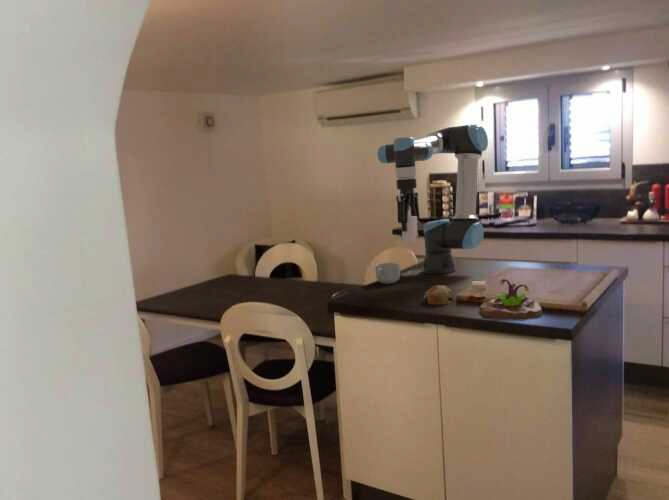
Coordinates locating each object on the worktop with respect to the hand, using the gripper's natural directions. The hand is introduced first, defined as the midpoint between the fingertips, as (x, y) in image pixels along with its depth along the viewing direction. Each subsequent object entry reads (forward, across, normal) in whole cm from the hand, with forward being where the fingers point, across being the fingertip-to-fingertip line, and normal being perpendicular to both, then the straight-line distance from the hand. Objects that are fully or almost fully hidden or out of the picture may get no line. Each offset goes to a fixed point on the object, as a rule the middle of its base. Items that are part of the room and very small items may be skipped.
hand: (410, 238), depth 233 cm
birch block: (+22, -2, +26) cm, 34 cm away
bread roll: (+22, +10, +15) cm, 29 cm away
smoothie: (+2, 0, 0) cm, 2 cm away
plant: (+22, +15, +43) cm, 51 cm away
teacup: (+22, -14, -20) cm, 33 cm away
